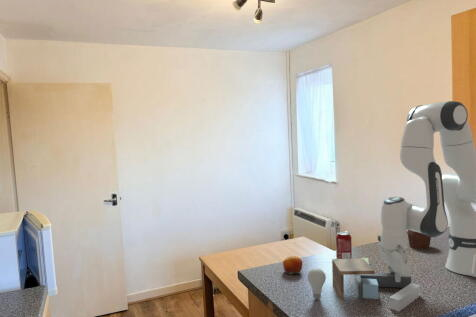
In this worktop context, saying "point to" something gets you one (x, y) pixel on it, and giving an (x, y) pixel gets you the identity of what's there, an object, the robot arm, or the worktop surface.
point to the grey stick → (404, 297)
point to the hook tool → (381, 281)
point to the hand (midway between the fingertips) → (394, 278)
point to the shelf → (347, 272)
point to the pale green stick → (366, 260)
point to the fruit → (292, 265)
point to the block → (370, 288)
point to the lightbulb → (316, 281)
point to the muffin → (418, 240)
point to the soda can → (343, 245)
